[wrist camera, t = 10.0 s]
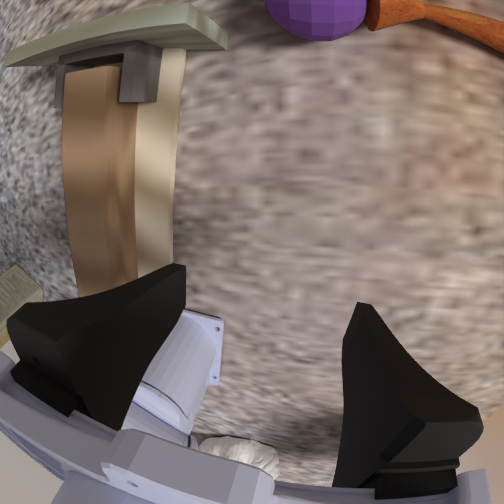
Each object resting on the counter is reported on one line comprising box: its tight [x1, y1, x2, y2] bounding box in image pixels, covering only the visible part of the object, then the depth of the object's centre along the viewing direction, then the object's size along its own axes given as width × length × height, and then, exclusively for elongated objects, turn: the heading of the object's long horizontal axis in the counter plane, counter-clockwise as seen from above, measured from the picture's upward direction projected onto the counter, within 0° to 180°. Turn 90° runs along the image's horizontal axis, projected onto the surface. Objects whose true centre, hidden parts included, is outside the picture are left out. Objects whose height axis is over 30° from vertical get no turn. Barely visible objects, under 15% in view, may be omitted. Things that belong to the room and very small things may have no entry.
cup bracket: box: [4, 3, 229, 278], centre depth 19 cm, size 23×16×7 cm
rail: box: [62, 66, 138, 297], centre depth 20 cm, size 18×4×4 cm, turn 173°
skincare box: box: [0, 264, 44, 349], centre depth 27 cm, size 6×4×12 cm
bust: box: [198, 436, 280, 479], centre depth 33 cm, size 12×8×11 cm
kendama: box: [265, 0, 504, 54], centre depth 11 cm, size 6×6×20 cm
